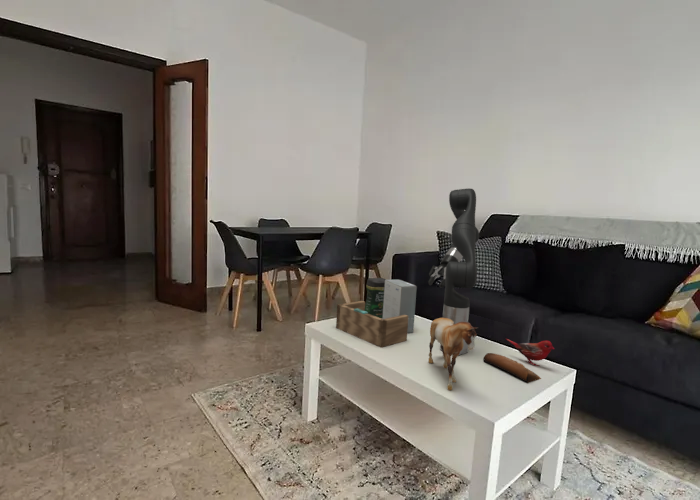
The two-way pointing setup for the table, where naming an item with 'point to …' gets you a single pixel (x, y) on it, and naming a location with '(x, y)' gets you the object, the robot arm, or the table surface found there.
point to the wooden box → (371, 325)
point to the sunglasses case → (511, 367)
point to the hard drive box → (399, 301)
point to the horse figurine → (451, 341)
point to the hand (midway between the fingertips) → (434, 285)
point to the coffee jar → (375, 296)
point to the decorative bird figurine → (534, 350)
